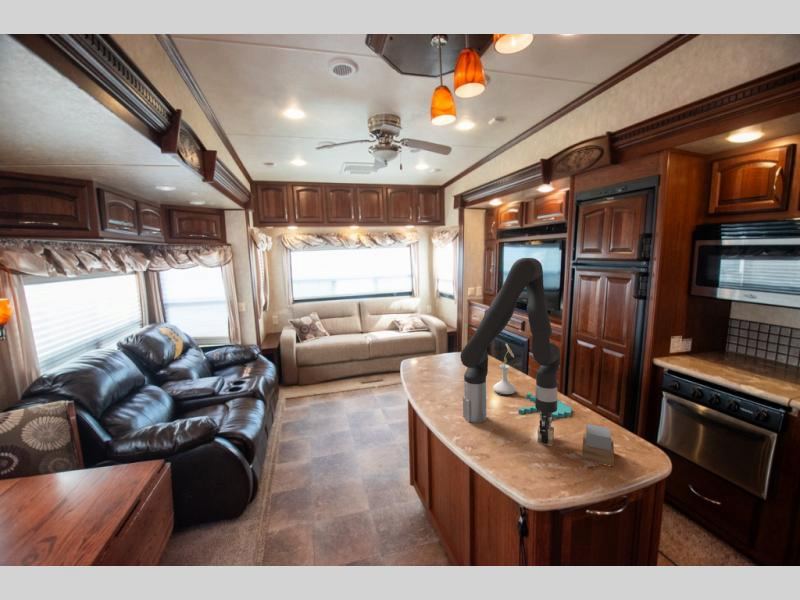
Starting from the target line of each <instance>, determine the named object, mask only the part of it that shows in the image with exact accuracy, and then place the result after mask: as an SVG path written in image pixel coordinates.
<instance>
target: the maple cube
mask: <svg viewBox="0 0 800 600" xmlns="http://www.w3.org/2000/svg"><path fill="white" fill-rule="evenodd" d="M543 431H545V430H543ZM548 433H549V434H548V444H544V443H542V442H541V434H540V424H539V425H538V428H537V441H536V442H537V443H538V444H542V445H546V446H549V447H553V444H554V439H555V427H554V426H552V425H551V426H550V428H549V431H548Z"/></svg>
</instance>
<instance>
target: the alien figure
mask: <svg viewBox="0 0 800 600" xmlns="http://www.w3.org/2000/svg"><path fill="white" fill-rule="evenodd" d="M525 398H526V399H529V400H530V401H531V402H533V403H535V395H533V393H529V392H527V393H526V397H525ZM562 401H563V400H558V399H557V411H556V412H553V413H552V419H555V420H558V419H559V418H561V417H562V419H564V418H565V417H570V418H571V416H572V415H571V414H572V406H569V405H567V403H563V402H562ZM517 410H518V413H517V414H520V415H525V414H531V411H532V412H533V413H537V411H539V410H537V409H536V407H535V405H531V406H530V407H529V406H525V408H523V407H519V408H518V409H517ZM525 412H526V413H525ZM540 414H541V411H539V415H540Z"/></svg>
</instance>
